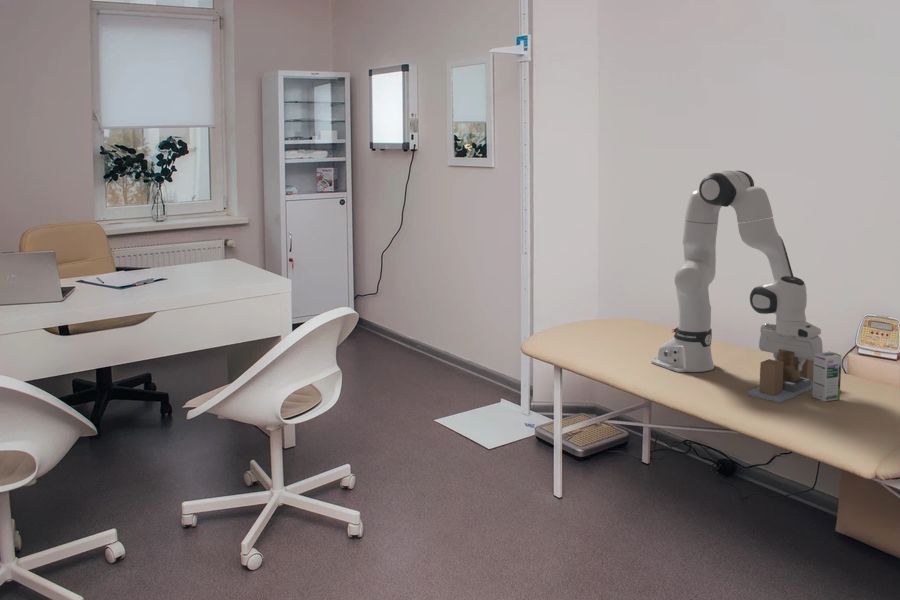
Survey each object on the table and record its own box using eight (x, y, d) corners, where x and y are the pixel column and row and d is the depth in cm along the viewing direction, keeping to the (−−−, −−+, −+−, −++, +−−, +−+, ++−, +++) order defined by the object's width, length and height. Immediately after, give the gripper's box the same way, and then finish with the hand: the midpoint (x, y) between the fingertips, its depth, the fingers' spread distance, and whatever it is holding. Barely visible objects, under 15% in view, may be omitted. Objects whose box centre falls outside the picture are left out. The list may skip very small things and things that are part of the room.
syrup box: (824, 402, 257) (827, 357, 254) (811, 396, 263) (813, 352, 260) (840, 400, 259) (842, 355, 256) (826, 394, 264) (829, 350, 261)
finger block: (777, 379, 271) (778, 349, 269) (785, 375, 274) (786, 346, 272) (792, 382, 267) (793, 352, 265) (800, 378, 270) (801, 349, 268)
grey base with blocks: (748, 394, 267) (749, 361, 264) (793, 375, 284) (795, 344, 281) (779, 402, 258) (781, 368, 256) (825, 382, 275) (827, 350, 273)
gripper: (755, 324, 273) (754, 364, 276) (815, 334, 257) (814, 376, 260) (766, 320, 277) (764, 360, 279) (826, 330, 261) (824, 372, 264)
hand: (789, 368), depth 270 cm, fingers closed on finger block, 5 cm apart
